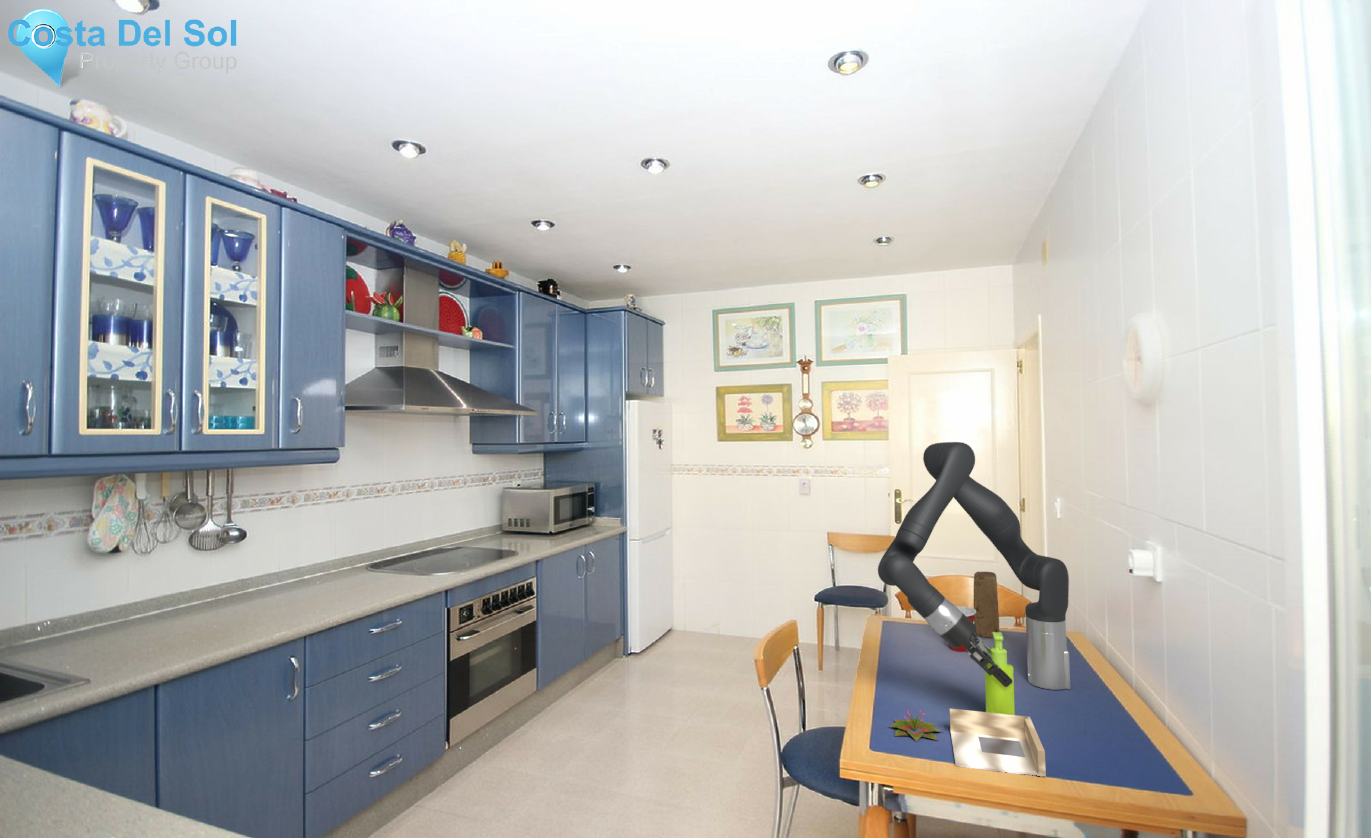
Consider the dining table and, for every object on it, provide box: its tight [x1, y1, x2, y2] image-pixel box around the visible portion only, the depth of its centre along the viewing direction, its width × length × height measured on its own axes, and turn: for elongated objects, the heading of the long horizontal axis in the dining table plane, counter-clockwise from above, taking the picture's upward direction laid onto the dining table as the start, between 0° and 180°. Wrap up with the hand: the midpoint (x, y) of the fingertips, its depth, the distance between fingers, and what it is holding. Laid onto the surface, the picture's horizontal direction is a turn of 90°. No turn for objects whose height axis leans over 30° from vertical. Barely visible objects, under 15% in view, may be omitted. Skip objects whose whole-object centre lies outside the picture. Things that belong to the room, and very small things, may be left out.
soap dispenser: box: [984, 631, 1016, 715], centre depth 148 cm, size 6×7×20 cm
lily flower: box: [888, 708, 942, 742], centre depth 145 cm, size 12×12×5 cm
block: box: [973, 571, 1000, 639], centre depth 213 cm, size 11×8×20 cm
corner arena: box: [949, 708, 1047, 778], centre depth 134 cm, size 16×16×5 cm
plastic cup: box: [947, 605, 976, 653], centre depth 200 cm, size 11×11×12 cm
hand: (1007, 678), depth 147 cm, fingers closed on soap dispenser, 6 cm apart
